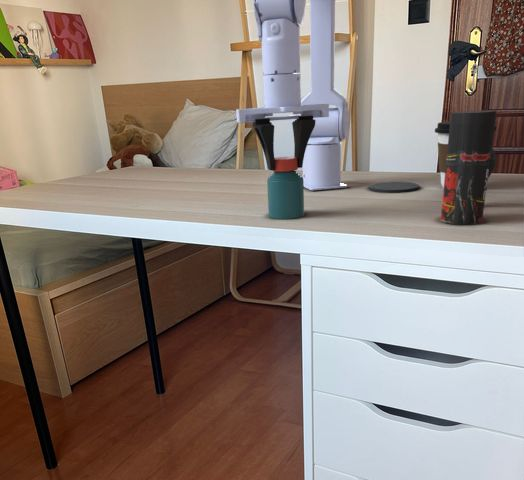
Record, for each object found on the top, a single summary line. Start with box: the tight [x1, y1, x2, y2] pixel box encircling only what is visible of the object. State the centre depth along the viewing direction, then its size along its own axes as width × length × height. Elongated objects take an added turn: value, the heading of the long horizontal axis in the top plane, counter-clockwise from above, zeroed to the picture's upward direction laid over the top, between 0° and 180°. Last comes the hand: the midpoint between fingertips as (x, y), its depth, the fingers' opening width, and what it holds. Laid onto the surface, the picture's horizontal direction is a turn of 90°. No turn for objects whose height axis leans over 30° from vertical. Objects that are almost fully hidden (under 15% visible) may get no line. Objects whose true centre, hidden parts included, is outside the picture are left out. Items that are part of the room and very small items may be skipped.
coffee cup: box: [434, 120, 497, 190], centre depth 102 cm, size 11×11×12 cm
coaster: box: [368, 181, 420, 194], centre depth 108 cm, size 10×10×1 cm
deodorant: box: [440, 109, 497, 226], centre depth 76 cm, size 6×6×15 cm
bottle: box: [266, 170, 305, 220], centre depth 88 cm, size 6×6×9 cm
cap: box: [271, 156, 299, 172], centre depth 86 cm, size 4×4×2 cm
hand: (284, 168), depth 86 cm, fingers closed on cap, 4 cm apart
